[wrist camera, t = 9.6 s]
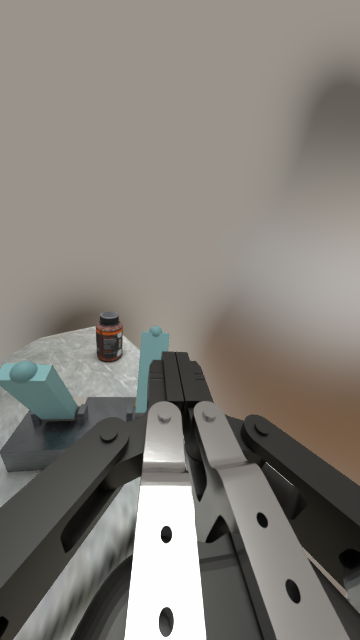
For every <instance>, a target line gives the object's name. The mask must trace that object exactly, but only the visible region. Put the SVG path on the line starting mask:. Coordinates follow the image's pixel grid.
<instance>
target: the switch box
mask: <svg viewBox="0 0 360 640" xmlns="http://www.w3.org/2000/svg"><path fill="white" fill-rule="evenodd" d="M73 399H74V401H75V402H76V404H77V405H78V406H79V411H78V413H77V416H78V418H77V420H76V421H42V420H41V419H40V418H39V417H38V416H37V415H35V414H34V413H33V412H32V411H31V410H29V411H28V413H27V414H26V416H25V417H24V418H23V420H22V421H21V423H20V424H19V426H18V427H17V428H16V430H15V431H14V433H13V434H12V435H11V437H10V438H9V440H8V441H7V442H6V444H5V445H4V447H3V448H2V449H1V451H0V454H1V457H2V459H3V462H4V464H5V466H6V469H7V471H8V472H11V471H28V470H44V469H45V468H46V467H48V466H49V465H50V464H51V463H52V462H53V461H54V460H56V459H57V458H58V457H59V456H60V455H61V454H62V453H64V452H65V451H66V450H67V449H68V448H69V447H70V446H72V445H73V444H74V443H75V442H76V441H77V440H78V439H80V438H81V437H82V436H83V435H84V434H85V433H86V432H88V431H89V430H90V429H91V428H92V427H93V426H94V425H96V424H97V423H98V422H99V421H101V420H103V419H105V418H109V417H117V418H121V419H123V420H124V421H125V422H129V421H132V420H134V419H135V411H136V399H137V397H73ZM183 443H184V438H183Z"/></svg>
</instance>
